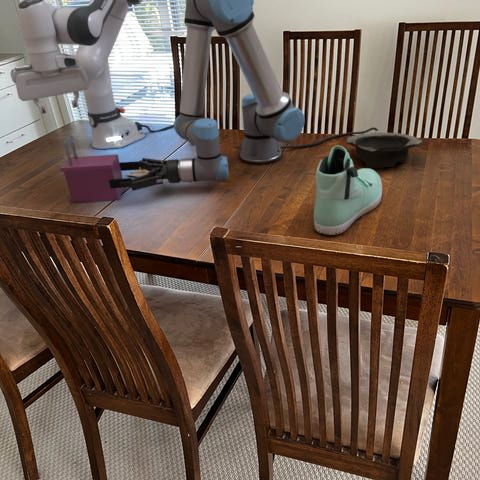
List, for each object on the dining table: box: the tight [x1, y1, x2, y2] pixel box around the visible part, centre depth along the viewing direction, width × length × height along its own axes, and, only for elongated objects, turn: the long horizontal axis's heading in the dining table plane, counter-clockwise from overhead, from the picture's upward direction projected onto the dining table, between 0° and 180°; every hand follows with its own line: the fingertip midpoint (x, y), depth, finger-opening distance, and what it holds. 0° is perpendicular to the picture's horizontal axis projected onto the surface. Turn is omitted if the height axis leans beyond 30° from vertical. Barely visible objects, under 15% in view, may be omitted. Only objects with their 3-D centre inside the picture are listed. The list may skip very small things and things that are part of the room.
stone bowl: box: [346, 132, 423, 169], centre depth 166 cm, size 25×25×9 cm
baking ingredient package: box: [126, 169, 149, 178], centre depth 174 cm, size 9×1×15 cm
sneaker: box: [313, 145, 383, 236], centre depth 133 cm, size 14×35×20 cm, turn 152°
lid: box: [59, 135, 119, 173], centre depth 151 cm, size 16×9×9 cm, turn 89°
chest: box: [63, 157, 126, 203], centre depth 156 cm, size 15×9×11 cm, turn 89°
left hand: (59, 110), depth 144 cm, fingers open, 8 cm apart
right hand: (114, 175), depth 155 cm, fingers open, 13 cm apart
